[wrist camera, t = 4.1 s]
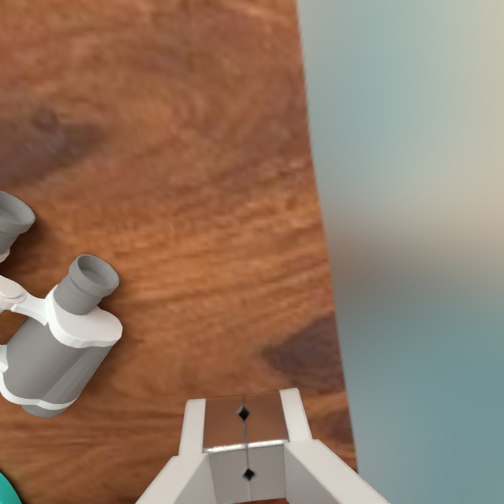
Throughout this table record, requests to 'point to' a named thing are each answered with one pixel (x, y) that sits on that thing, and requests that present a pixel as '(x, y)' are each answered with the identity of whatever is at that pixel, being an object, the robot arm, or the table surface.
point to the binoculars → (53, 326)
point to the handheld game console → (7, 492)
